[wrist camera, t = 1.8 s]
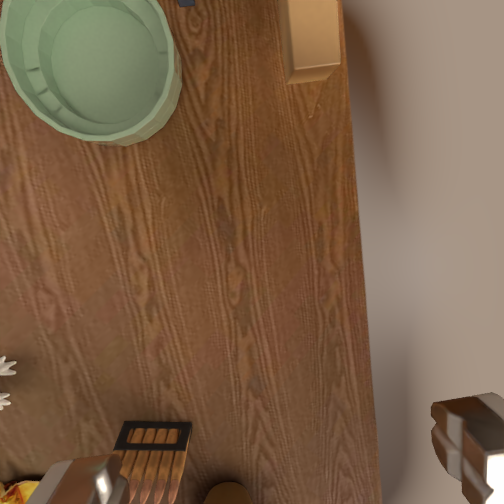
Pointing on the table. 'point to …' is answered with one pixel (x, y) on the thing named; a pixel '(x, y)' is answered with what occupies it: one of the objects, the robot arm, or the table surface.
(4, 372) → the dinosaur figurine
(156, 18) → the bowl
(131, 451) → the ammunition clip
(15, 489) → the origami crane
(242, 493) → the plant pot
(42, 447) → the table surface
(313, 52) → the mallet
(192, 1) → the nightstand
